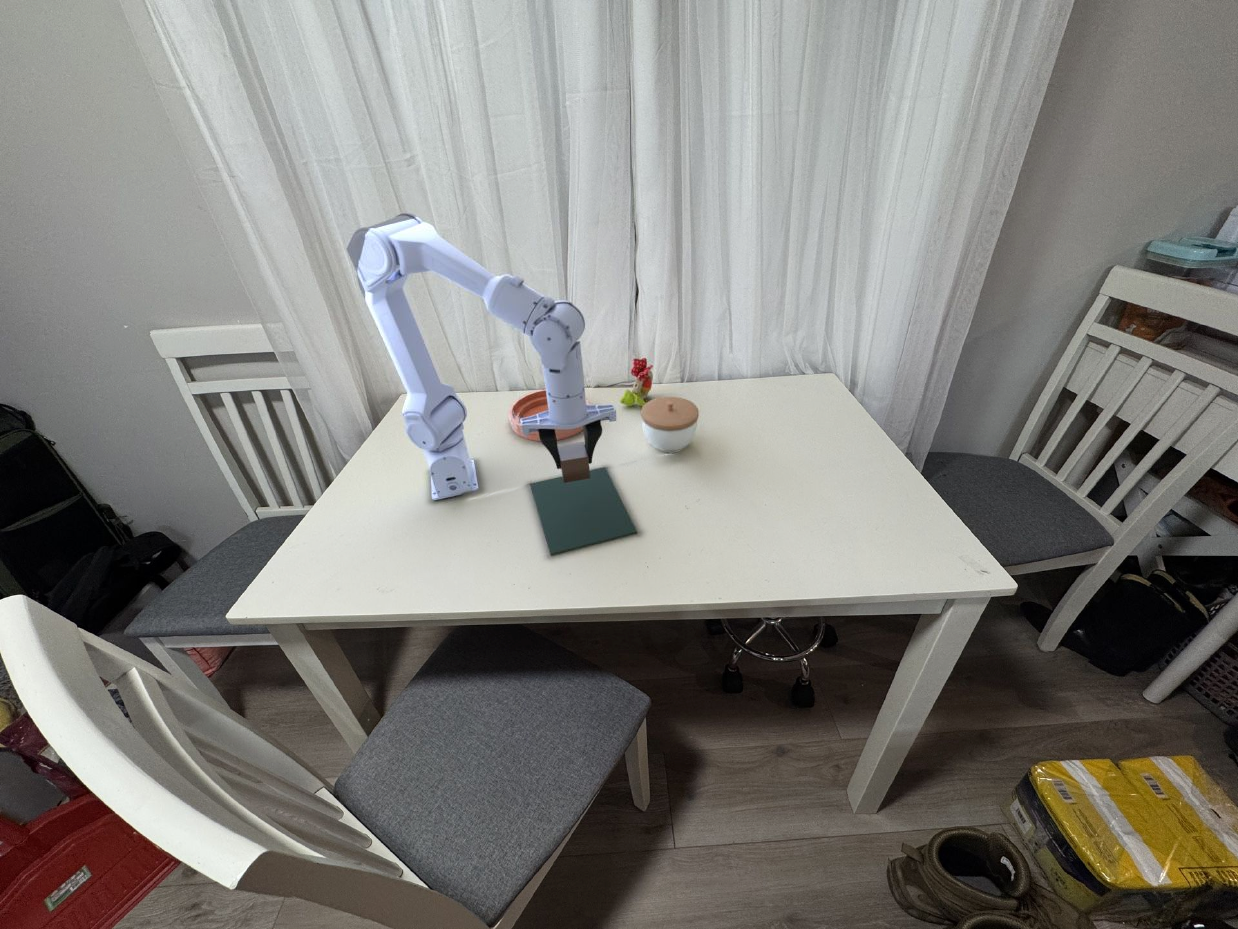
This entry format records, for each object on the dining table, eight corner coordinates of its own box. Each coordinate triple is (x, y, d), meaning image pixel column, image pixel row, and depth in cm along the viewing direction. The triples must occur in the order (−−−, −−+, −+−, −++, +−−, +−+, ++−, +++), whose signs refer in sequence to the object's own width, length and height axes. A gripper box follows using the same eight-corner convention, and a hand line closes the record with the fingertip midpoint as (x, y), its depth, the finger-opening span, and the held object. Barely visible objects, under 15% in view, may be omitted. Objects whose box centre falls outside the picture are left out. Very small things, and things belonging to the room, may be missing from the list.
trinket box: (689, 464, 96) (692, 422, 90) (634, 455, 99) (633, 413, 93) (701, 433, 104) (704, 392, 98) (650, 426, 107) (650, 385, 101)
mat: (637, 533, 82) (637, 531, 82) (550, 555, 79) (550, 553, 79) (605, 468, 96) (604, 466, 96) (530, 485, 93) (530, 483, 92)
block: (590, 478, 84) (588, 456, 81) (563, 483, 83) (560, 461, 81) (585, 462, 87) (583, 441, 85) (559, 467, 87) (556, 445, 84)
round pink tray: (600, 433, 105) (599, 420, 103) (518, 450, 101) (515, 437, 100) (579, 395, 118) (578, 383, 116) (506, 409, 114) (504, 396, 112)
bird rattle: (630, 403, 118) (615, 407, 110) (638, 355, 115) (622, 355, 107) (656, 409, 116) (642, 413, 108) (664, 359, 113) (650, 360, 105)
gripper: (607, 370, 80) (611, 441, 88) (513, 383, 78) (527, 456, 86) (617, 391, 75) (621, 465, 83) (517, 406, 72) (531, 481, 81)
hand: (573, 462), depth 84 cm, fingers closed on block, 4 cm apart
